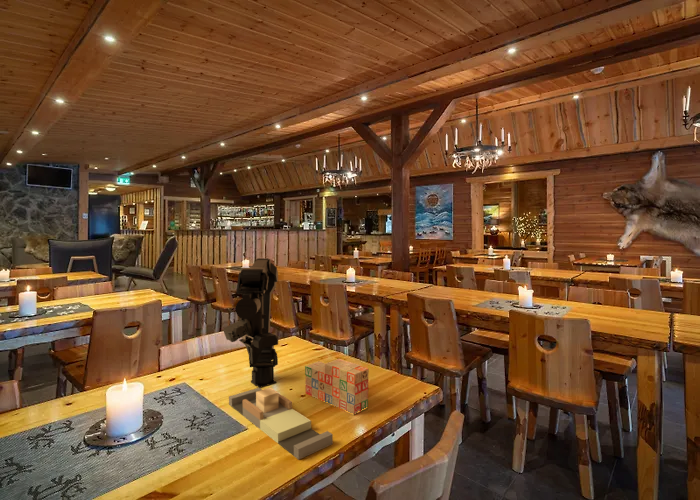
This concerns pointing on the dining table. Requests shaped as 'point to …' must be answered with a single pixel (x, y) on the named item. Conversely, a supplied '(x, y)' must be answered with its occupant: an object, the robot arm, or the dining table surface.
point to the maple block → (267, 400)
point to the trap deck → (282, 424)
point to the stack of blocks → (338, 384)
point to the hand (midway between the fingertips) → (253, 363)
